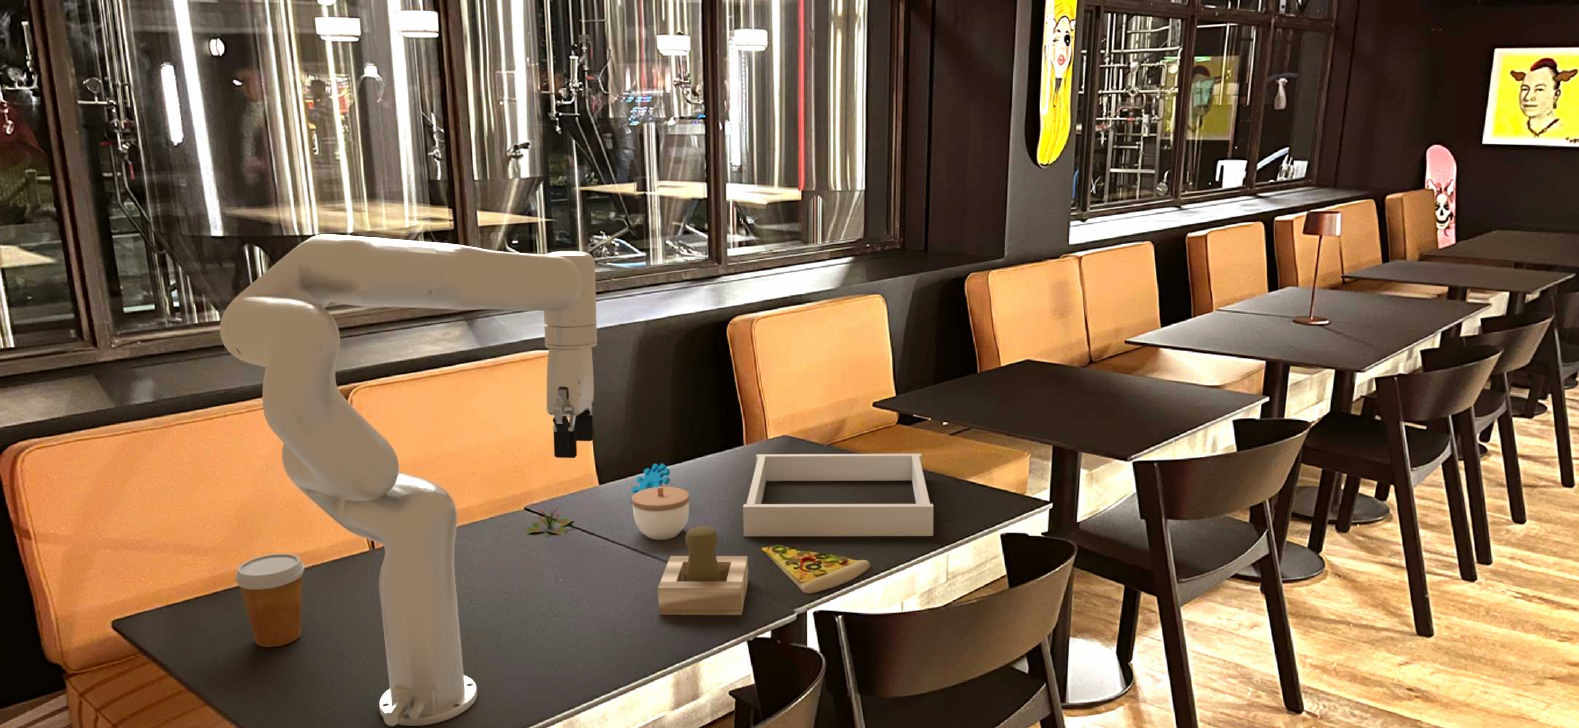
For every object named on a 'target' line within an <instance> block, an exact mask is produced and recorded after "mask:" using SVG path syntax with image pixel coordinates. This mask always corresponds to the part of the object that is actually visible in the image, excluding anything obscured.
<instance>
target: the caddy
mask: <svg viewBox="0 0 1579 728" xmlns="http://www.w3.org/2000/svg"><path fill="white" fill-rule="evenodd" d="M748 557H749V556H748V555H716V558H717V564H718V570H719V576H720V581H721V582H686V579H687V568H688V558H689V555H670V557H669V559H668V561H667V564H666V567H665V569H664V572H663V574H662V577H661V580H660V581H659V584H658V587H657V595H658V598H657V599H658V600H657V601H658V615H659V616H665V615H666V616H670V615H671V616H674V615H677V616H687V615H688V616H742V614H743V610H744V606H745V605H744V604H745V599H746V594H747V589H748V583H749V562H748V561H749V558H748Z"/></svg>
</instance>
